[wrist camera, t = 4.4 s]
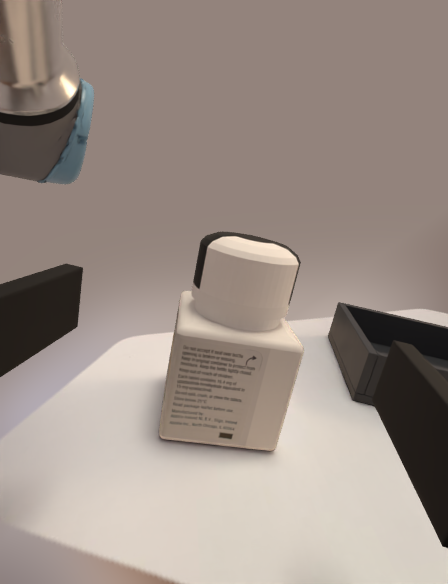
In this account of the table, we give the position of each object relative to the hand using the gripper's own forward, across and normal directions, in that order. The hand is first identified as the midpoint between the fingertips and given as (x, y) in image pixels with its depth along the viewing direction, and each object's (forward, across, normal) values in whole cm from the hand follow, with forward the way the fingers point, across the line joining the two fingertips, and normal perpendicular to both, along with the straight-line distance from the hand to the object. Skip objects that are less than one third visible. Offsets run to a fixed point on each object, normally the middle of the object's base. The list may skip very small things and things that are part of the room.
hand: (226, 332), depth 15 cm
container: (+9, 0, -10) cm, 14 cm away
